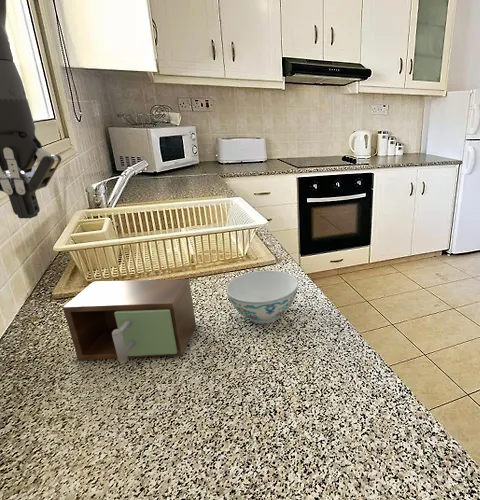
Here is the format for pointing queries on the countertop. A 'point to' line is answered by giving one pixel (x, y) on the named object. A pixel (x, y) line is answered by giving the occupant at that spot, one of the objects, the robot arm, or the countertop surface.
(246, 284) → the chinaware
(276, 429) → the countertop surface
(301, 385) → the countertop surface
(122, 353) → the slide door
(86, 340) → the cupboard
